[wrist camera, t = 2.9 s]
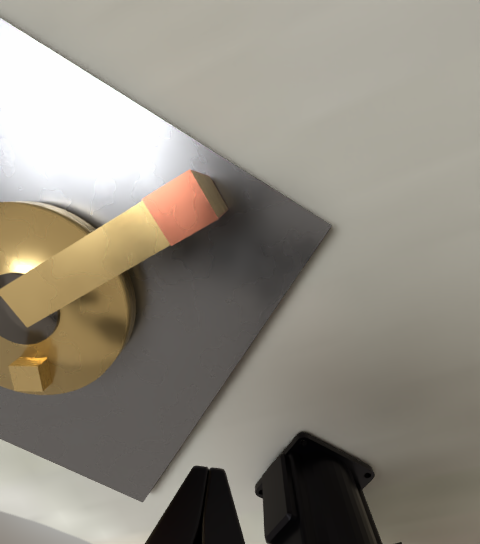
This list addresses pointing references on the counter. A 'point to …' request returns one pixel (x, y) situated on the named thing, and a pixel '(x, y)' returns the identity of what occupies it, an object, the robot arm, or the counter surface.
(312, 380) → the counter surface
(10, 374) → the brass lever handle
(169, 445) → the base plate
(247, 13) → the counter surface
